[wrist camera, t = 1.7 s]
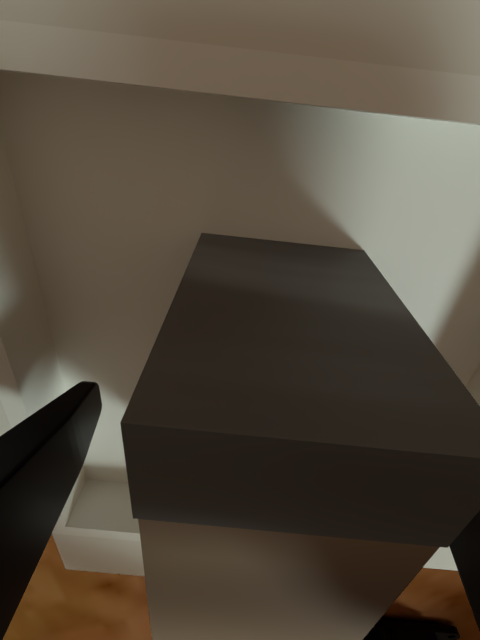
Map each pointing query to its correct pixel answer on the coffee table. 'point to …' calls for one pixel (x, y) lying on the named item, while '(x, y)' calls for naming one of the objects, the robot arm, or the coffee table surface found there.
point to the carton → (219, 187)
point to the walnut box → (292, 447)
